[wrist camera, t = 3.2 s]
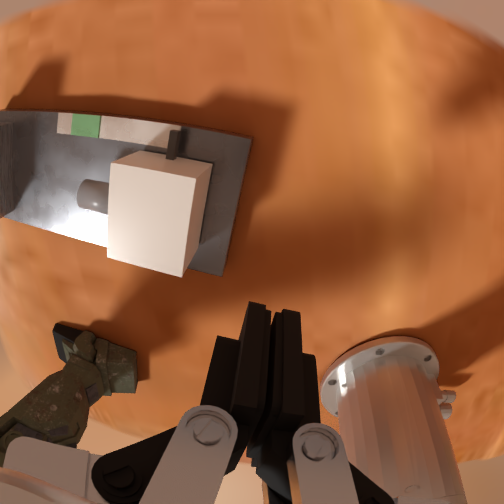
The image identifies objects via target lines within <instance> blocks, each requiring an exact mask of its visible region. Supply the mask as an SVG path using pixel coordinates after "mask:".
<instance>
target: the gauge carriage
mask: <svg viewBox="0 0 504 504" xmlns="http://www.w3.org/2000/svg"><path fill="white" fill-rule="evenodd" d="M180 133H181V131H180V130H174V129H173V130H170V134H169V140H168V146H167V153H166V155H164V154H158V153H153V152H147V151H141V150H140V151H137V152H135V153H132V154H130V155H128V156H125V157H123V158H120V159H118V160H116V161H113V162H111V166H110V180H109V183H107V182H101V181H96V180H91V179H85V180H84V181H83V182H82V183H81V184H80V186H79V189H78V192H77V204H78V206H79V207H80V208H82V209H86V210H90V211H95V212H99V213H103V214H107V215H108V223H107V257H108V258H112V259H115V260H119V261H122V262H126V263H129V264H133V265H137V266H140V267H144V268H148V269H152V270H155V271H159V272H163V273H167V274H170V275H174V276H178V277H182V276H183V274H184V273H185V271H186V269H187V267H188V265H189V264H190V262H191V260H192V258H193V256H194V254H195V253H196V251H197V249H198V245H199V239H200V233H201V227H202V221H203V215H204V209H205V203H206V197H207V192H208V186H209V181H210V175H211V170H212V165H213V164H210V163H205V162H201V161H196V160H190V159H185V158H180V157H177V151H178V145H179V139H180Z"/></svg>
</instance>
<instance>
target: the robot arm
mask: <svg viewBox="0 0 504 504" xmlns="http://www.w3.org/2000/svg"><path fill="white" fill-rule="evenodd" d="M270 326H271V327H270ZM439 368H440V367H439V361H438V358H437V356H436V354H435V352H434V350H433V349H432V348H431V346H430V345H428V344H427V343H426V342H424V341H422V340H419V339H417V338H413V337H407V336H392V337H385V338H380V339H376V340H373V341H369V342H366V343H364V344H362V345H359V346H357V347H355V348H353V349H352V350H350V351H348V352H346V353H345V354H343V355H342V356H341V357H340V358H338V359H337V360H336V361H335V362H334V363H333V364H332V365H331V366H330V367H329V368H328V370H327V371H326V373H325V374H324V376H323V378H322V381H321V385H320V394H321V401H322V403H323V406H324V407H325V408H326V410H327V411H328V412H329V413H331V414H332V415H334V416H336V417H338V420H339V430H340V435H339V434H338V433H337V432H336V431H335V430H334V429H333V428H331V427H330V426H327V425H324V424H321V421H320V406H319V392H318V380H317V368H316V359H315V356H314V355H311V354H305V353H302V334H301V317H300V312H296V311H291V310H287V309H283V310H282V312H281V313H279V312H276V313H275V315H274V318H273V321H272V324H271V311H270V310H266V305H264V304H259V303H254V302H250V301H249V303H248V307H247V310H246V314H245V318H244V322H243V325H242V329H241V333H240V336H239V340H235V339H231V338H226V337H222V336H218V335H217V339H216V343H215V347H214V351H213V355H212V359H211V363H210V367H209V371H208V375H207V379H206V383H205V387H204V391H203V395H202V399H201V403H200V406H197V407H193V408H191V409H190V410H188V411H187V412H185V414H184V415H183V416H182V418H181V420H180V422H179V424H178V426H176V427H174V428H171V429H169V430H167V431H164V432H162V433H160V434H157V435H155V436H152V437H150V438H147V439H145V440H143V441H140V442H137V443H135V444H132V445H130V446H127V447H124V448H122V449H119V450H116V451H113V452H111V453H108V454H106V455H104V456H102V455H95V454H90V453H89V451H85V450H80V449H76V448H71V447H66V446H62V445H58V444H54V443H50V442H46V441H42V440H38V439H34V438H31V437H23V436H22V437H18V438H15V439H14V440H13V441H12V442H10V444H9V446H8V448H7V451H6V455H5V460H4V464H3V467H0V504H214V502H215V499H216V496H217V494H218V491H219V488H220V485H221V482H222V479H223V477H224V476H225V475H226V474H228V473H230V472H231V471H233V470H235V468H236V466H237V464H238V462H239V460H240V458H241V456H242V454H243V452H244V450H245V448H246V447H247V453H246V457H249V458H252V463H251V466H252V467H256V474H257V475H258V476H259V477H260V478H261V479H262V491H263V500H264V504H467V500H466V496H465V492H464V488H463V484H462V480H461V476H460V473H459V469H458V465H457V462H456V458H455V455H454V451H453V448H452V444H451V441H450V438H449V435H448V432H447V429H446V425H445V422H444V419H448V418H449V417H450V415H451V413H452V406H451V404H450V403H452V402H454V400H455V398H456V392H455V391H450V390H444V391H441V390H440V388H439V386H438V383H437V381H436V380H437V378H438V375H439ZM441 402H442V403H441Z"/></svg>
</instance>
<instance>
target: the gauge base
mask: <svg viewBox="0 0 504 504" xmlns="http://www.w3.org/2000/svg"><path fill="white" fill-rule="evenodd" d="M173 129H174V130H180V131H181V133H180V139H179V145H178V151H177V157H180V158H185V159H190V160H196V161H201V162H205V163H210V164H213V165H212V170H211V175H210V181H209V186H208V192H207V197H206V203H205V209H204V215H203V221H202V227H201V233H200V239H199V245H198V249H197V251H196V253H195V254H194V256H193V258H192V260H191V262H190V264H189V265H188V267H187V268H189V269H193V270H197V271H201V272H205V273H209V274H213V275H217V276H221V277H222V275H223V272H224V269H225V266H226V261H227V256H228V251H229V247H230V242H231V237H232V232H233V228H234V223H235V218H236V213H237V209H238V204H239V200H240V195H241V190H242V186H243V181H244V177H245V172H246V168H247V163H248V159H249V154H250V150H251V146H252V141H253V137H251V136H247V135H242V134H238V133H233V132H228V131H223V130H218V129H212V128H207V127H202V126H196V125H190V124H184V123H178V122H171V121H165V120H158V119H151V118H143V117H135V116H127V115H117V114H107V113H96V112H84V111H69V110H47V109H2V110H0V218H2V217H5V218H8V219H12V220H15V221H18V222H22V223H25V224H28V225H32V226H35V227H38V228H42V229H45V230H49V231H52V232H55V233H59V234H62V235H66V236H69V237H73V238H76V239H80V240H84V241H87V242H91V243H94V244H98V245H102V246H105V247H107V223H108V215H107V214H103V213H99V212H95V211H90V210H86V209H82V208H80V207H79V206H78V204H77V192H78V189H79V186H80V184H81V183H82V182H83V181H84V180H85V179H91V180H96V181H101V182H107V183H109V180H110V166H111V162H113V161H116V160H118V159H120V158H123V157H125V156H128V155H130V154H132V153H135V152H137V151H140V150H141V151H147V152H153V153H158V154H164V155H166V153H167V146H168V140H169V134H170V130H173Z"/></svg>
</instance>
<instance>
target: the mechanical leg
mask: <svg viewBox="0 0 504 504" xmlns="http://www.w3.org/2000/svg"><path fill="white" fill-rule="evenodd" d="M53 336H54V340H55V344H56V348H57V352H58V355H59V358H60V359H61V360H62V361H64V362H65V363H66V365H65V366H64V368H63V370H61V371H58V372H56V373H54V374H52V375H49V376H48V377H47V378H46V379H45V380H43V381H42V382H41V383H40V384H39V385H38V386H37V387H35V388H34V389H33V390H32V391H31V392H30V393H28V394H27V395H26V396H25V397H24V398H23V399H21V400H20V401H19V402H18V403H17V404H16V405H14V406H13V407H12V408H11V409H10V410H9V411H8V412H6V413H5V414H4V415H2V416H1V417H0V467H3V464H4V460H5V455H6V451H7V448H8V446H9V444H10V442H12V441H13V440H14V439H15V438H18V437H22V436H23V437H31V438H34V439H38V440H42V441H46V442H50V443H54V444H58V445H62V446H66V447H71V448H76V449H77V444H78V443H79V441H80V439H81V437H82V435H83V433H84V431H85V429H86V427H87V421H88V414H89V408H90V407H91V406H92V405H93V404H94V403H95V402H97V401H98V400H99V399H100V398H101V397H102V396H103V395H104V396H111V395H112V393H135V392H136V388H137V383H138V379H137V359H136V352H135V351H133V350H130V349H127V348H124V347H121V346H118V345H115V344H113V343H110V342H109V341H107V340H104V339H102V338H96V337H95V335H94V334H93V333H91V332H89V331H87V330H85V331H81V330H77V329H74V328H71V327H67V326H64V325H61V324H57V323H56V324H55V326H54V328H53Z"/></svg>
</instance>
